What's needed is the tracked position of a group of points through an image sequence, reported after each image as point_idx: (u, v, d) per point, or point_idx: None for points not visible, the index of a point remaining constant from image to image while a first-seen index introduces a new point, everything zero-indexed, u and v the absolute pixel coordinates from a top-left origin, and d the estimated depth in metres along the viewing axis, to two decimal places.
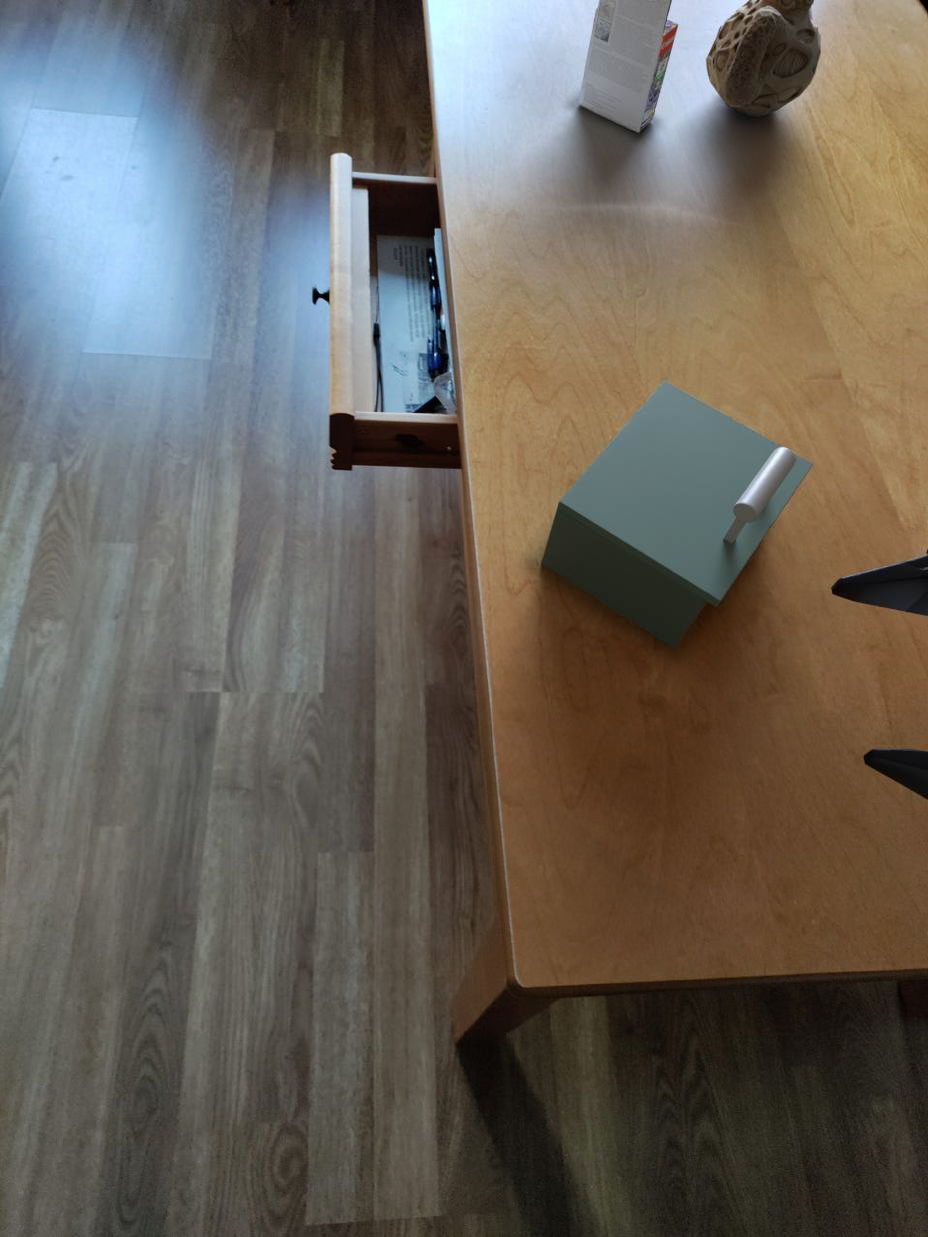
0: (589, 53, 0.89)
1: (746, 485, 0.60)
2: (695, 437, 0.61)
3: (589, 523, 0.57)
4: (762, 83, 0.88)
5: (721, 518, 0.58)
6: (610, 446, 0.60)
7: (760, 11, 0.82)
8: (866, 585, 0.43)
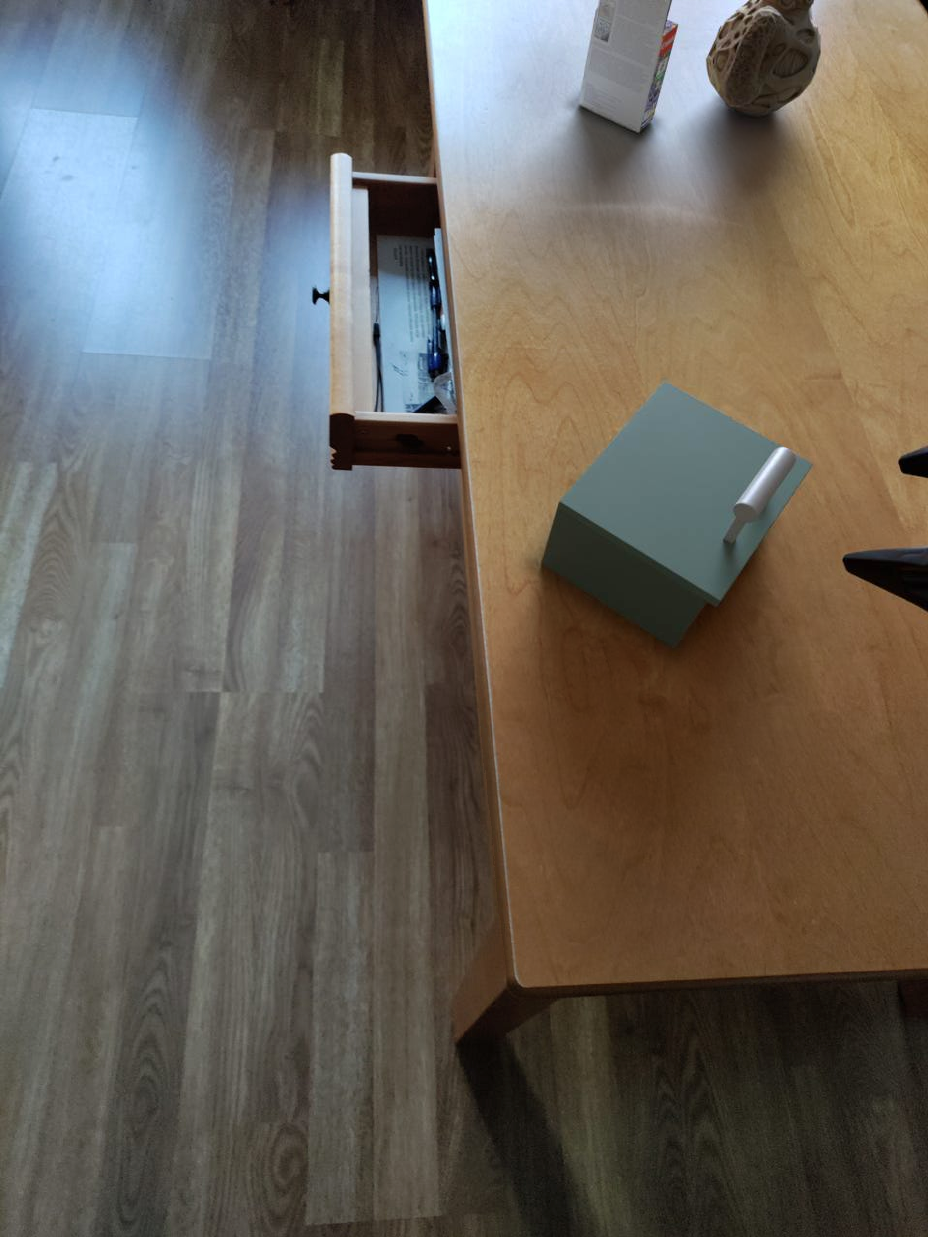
0: (589, 53, 0.89)
1: (746, 485, 0.60)
2: (695, 437, 0.61)
3: (589, 523, 0.57)
4: (762, 83, 0.88)
5: (721, 518, 0.58)
6: (610, 446, 0.60)
7: (760, 11, 0.82)
8: (919, 457, 0.52)
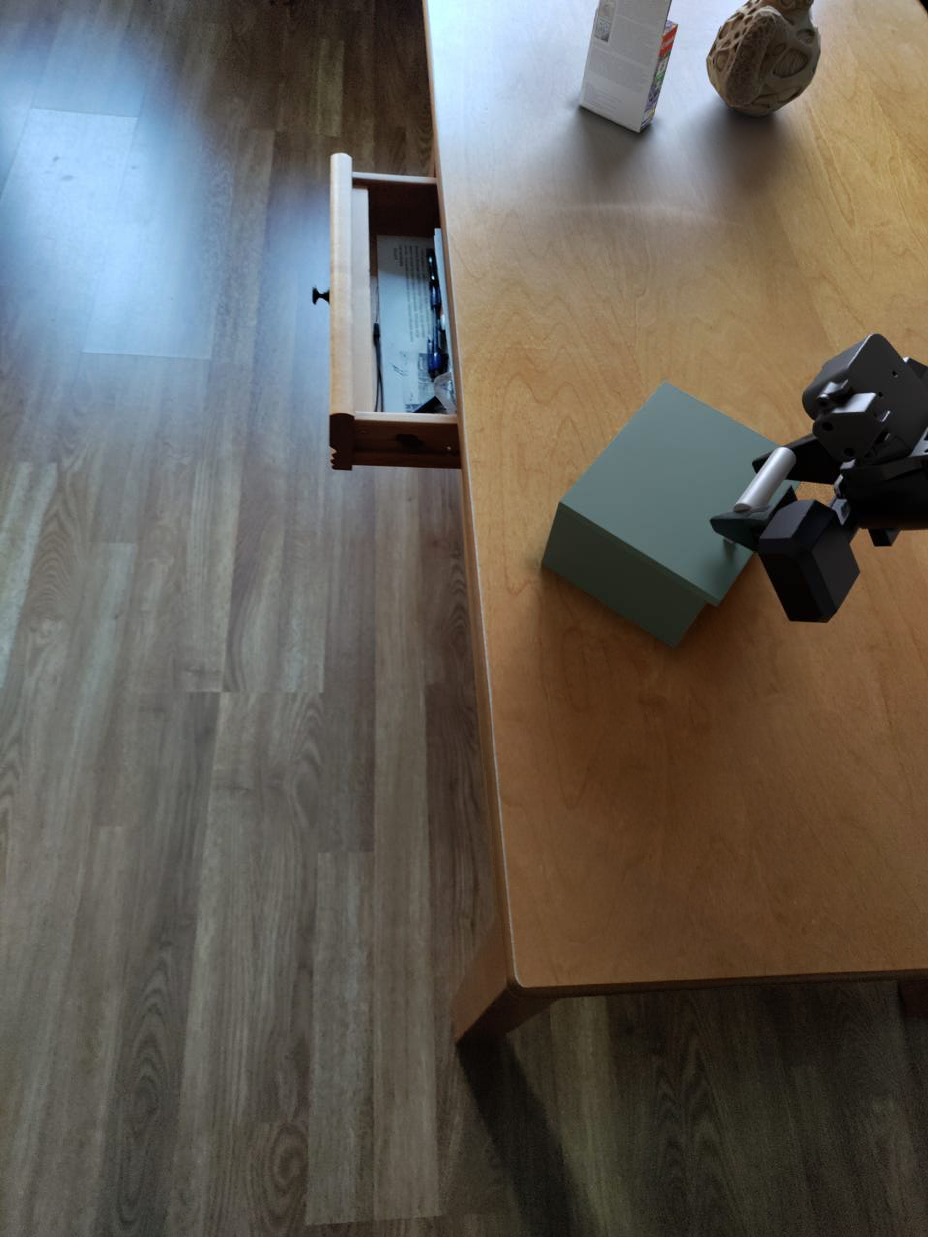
0: (589, 53, 0.89)
1: (746, 485, 0.60)
2: (695, 437, 0.61)
3: (589, 523, 0.57)
4: (762, 83, 0.88)
5: None
6: (610, 446, 0.60)
7: (760, 11, 0.82)
8: None
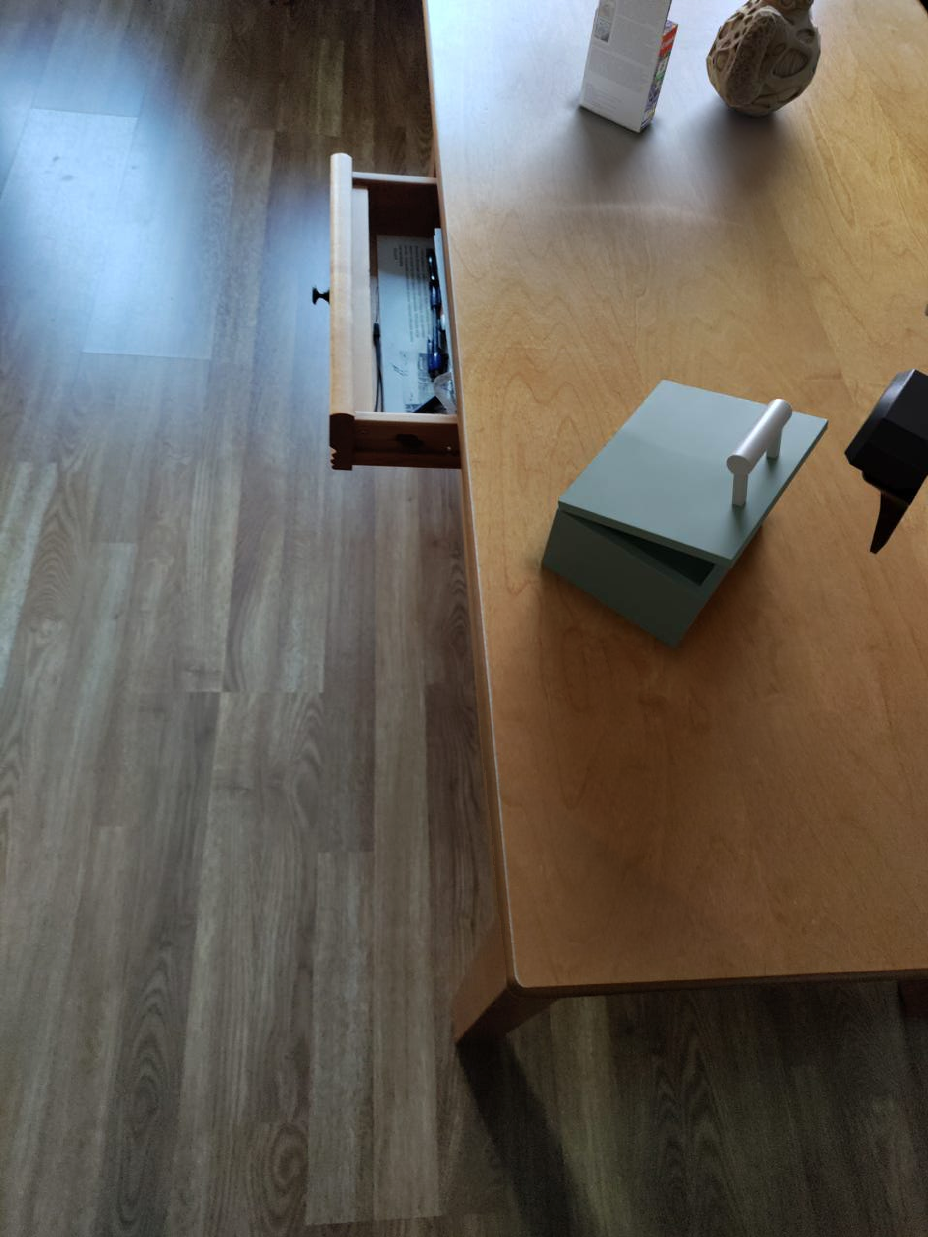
0: (589, 53, 0.89)
1: None
2: (697, 421, 0.60)
3: (589, 514, 0.57)
4: (762, 83, 0.88)
5: (728, 485, 0.55)
6: (608, 444, 0.60)
7: (760, 11, 0.82)
8: (885, 543, 0.50)
